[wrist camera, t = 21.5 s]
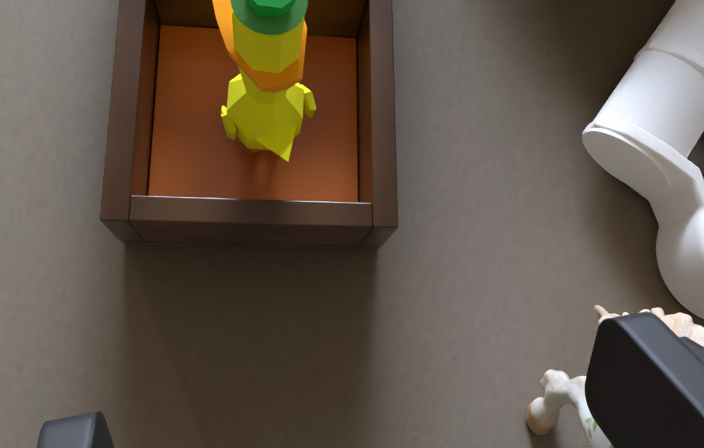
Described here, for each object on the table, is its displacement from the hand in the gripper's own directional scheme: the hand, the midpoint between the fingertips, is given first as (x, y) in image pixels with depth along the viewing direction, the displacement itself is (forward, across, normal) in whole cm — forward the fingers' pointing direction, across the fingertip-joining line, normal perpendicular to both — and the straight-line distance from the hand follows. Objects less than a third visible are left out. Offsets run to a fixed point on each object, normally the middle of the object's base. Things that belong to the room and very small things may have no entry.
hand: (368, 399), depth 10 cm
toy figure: (+20, 0, +3) cm, 20 cm away
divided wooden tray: (+24, -1, 0) cm, 24 cm away
